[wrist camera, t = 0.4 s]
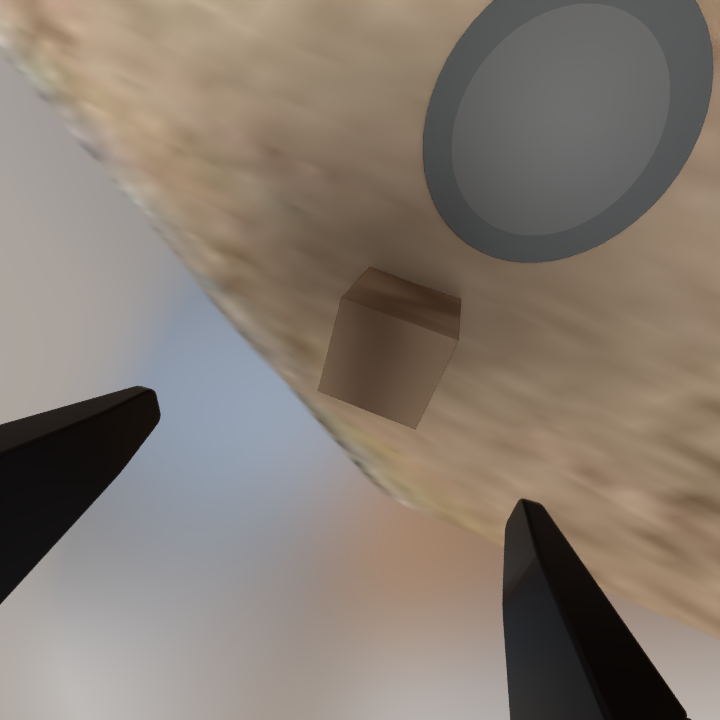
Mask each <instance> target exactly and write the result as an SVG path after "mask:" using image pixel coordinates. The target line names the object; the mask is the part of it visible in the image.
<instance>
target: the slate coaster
mask: <svg viewBox="0 0 720 720" xmlns="http://www.w3.org/2000/svg"><path fill="white" fill-rule="evenodd" d="M712 80H713V55H712V44H711V40H710V36H709V31H708V27H707V24H706V21H705V19H704V17H703V14H702V12H701V10H700V8H699V5H698V4H697V2H696V1H695V0H494V1H493V2H492V3H491V4H489V5H488V6H487V7H486V8H485V10H484V11H483V12H482V13H481V14H480V15H479V16H478V17H477V18H476V19H475V20H474V21H473V22H472V24H471V25H470V26H469V28H468V29H467V30H466V31H465V33H464V34H463V35H462V37H461V38H460V39H459V41H458V42H457V44H456V46H455V47H454V49H453V50H452V52H451V54H450V55H449V57H448V59H447V60H446V63H445V65H444V67H443V69H442V71H441V73H440V75H439V77H438V79H437V82H436V85H435V88H434V90H433V93H432V96H431V99H430V103H429V107H428V111H427V115H426V121H425V128H424V135H423V159H424V170H425V175H426V179H427V184H428V188H429V190H430V193H431V196H432V199H433V201H434V203H435V205H436V207H437V209H438V211H439V213H440V215H441V216H442V218H443V219H444V220H445V222H446V223H447V225H448V226H449V227H450V228H451V229H452V230H453V231H454V232H455V233H456V235H457V236H459V237H460V238H461V239H462V240H464V241H465V242H466V243H467V244H469V245H470V246H472V247H474V248H475V249H477V250H479V251H481V252H483V253H485V254H488V255H490V256H493V257H496V258H500V259H504V260H508V261H515V262H545V261H553V260H558V259H562V258H566V257H570V256H573V255H576V254H579V253H582V252H585V251H587V250H589V249H591V248H593V247H596V246H598V245H600V244H602V243H604V242H605V241H607V240H609V239H610V238H612V237H614V236H616V235H617V234H619V233H620V232H622V231H623V230H624V229H626V228H627V227H628V226H630V225H631V224H632V223H634V222H635V221H636V220H637V219H638V218H640V217H641V216H642V215H643V214H644V213H645V212H646V211H647V210H649V209H650V208H651V207H652V206H653V204H654V203H655V202H656V201H657V200H658V199H659V198H660V197H661V196H662V195H663V194H664V192H665V191H666V190H667V189H668V187H669V186H670V185H671V183H672V182H673V181H674V179H675V178H676V177H677V175H678V174H679V172H680V171H681V169H682V167H683V166H684V164H685V162H686V161H687V159H688V157H689V156H690V154H691V152H692V150H693V147H694V145H695V143H696V141H697V139H698V137H699V135H700V132H701V129H702V126H703V123H704V120H705V117H706V114H707V110H708V106H709V101H710V96H711V91H712Z"/></svg>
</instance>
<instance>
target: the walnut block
mask: <svg viewBox="0 0 720 720" xmlns="http://www.w3.org/2000/svg"><path fill="white" fill-rule="evenodd" d="M460 310H461V300H460V299H458V298H455V297H452V296H449V295H446V294H444V293H441V292H438V291H435V290H432V289H430V288H427V287H424V286H421V285H418V284H415V283H413V282H410V281H407V280H404V279H401V278H399V277H396V276H393V275H390V274H387V273H385V272H382V271H379V270H376V269H373V268H371V267H370V268H369V269H368V270H367V271H366V272H365V273H364V274H363V275H362V276H361V277H360V278H359V280H358V281H357V282H356V283H355V284H354V285H353V286H352V287H351V288H350V289H349V290H348V291H347V292H346V294H345V295H344V296H343V297H342V298H341V302H340V306H339V310H338V314H337V318H336V322H335V325H334V329H333V333H332V337H331V341H330V345H329V349H328V353H327V357H326V361H325V364H324V368H323V372H322V376H321V380H320V384H319V388H318V391H319V392H321V393H324V394H326V395H329V396H331V397H334V398H337V399H339V400H342V401H344V402H347V403H349V404H352V405H354V406H357V407H359V408H362V409H365V410H367V411H370V412H372V413H375V414H377V415H380V416H382V417H385V418H387V419H390V420H393V421H395V422H398V423H400V424H403V425H405V426H408V427H410V428H413V429H415V430H416V428H417V426H418V424H419V422H420V420H421V417H422V415H423V413H424V411H425V409H426V407H427V405H428V403H429V401H430V399H431V397H432V395H433V393H434V391H435V389H436V387H437V384H438V382H439V380H440V378H441V376H442V374H443V372H444V370H445V368H446V366H447V364H448V362H449V360H450V358H451V356H452V354H453V352H454V349H455V347H456V345H457V343H458V341H459V328H460Z"/></svg>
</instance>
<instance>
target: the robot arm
mask: <svg viewBox="0 0 720 720" xmlns="http://www.w3.org/2000/svg"><path fill="white" fill-rule="evenodd" d="M160 415H161V414H160V409H159V405H158V400H157V395H156V393H155V391H154V390H152V389H149V388H146V387H142V386H135V387H131V388H128V389H124V390H121V391H117V392H114V393H110V394H106V395H103V396H99V397H96V398H92V399H89V400H85V401H82V402H78V403H75V404H71V405H68V406H64V407H61V408H58V409H54V410H50V411H47V412H43V413H40V414H36V415H33V416H29V417H26V418H22V419H19V420H15V421H11V422H8V423H4V424H1V425H0V604H1V603H2V602H3V601H4V600H5V599H6V598H7V597H8V595H9V594H10V593H11V592H12V591H13V590H14V589H15V588H16V587H17V586H18V585H19V583H20V582H21V581H22V580H23V579H24V578H25V577H26V576H27V575H28V574H29V572H30V571H31V570H32V569H33V568H34V567H35V566H36V565H37V564H38V562H39V561H40V560H41V559H42V558H43V557H44V556H45V555H46V554H47V553H48V552H49V551H50V549H51V548H52V547H53V546H54V545H55V544H56V543H57V542H58V541H59V539H61V537H62V536H63V535H64V534H65V533H66V532H67V531H68V530H69V528H71V527H72V525H73V524H74V523H75V522H76V521H77V520H78V519H79V518H80V517H81V515H82V514H83V513H84V512H85V511H86V510H87V509H88V508H89V507H90V506H91V505H92V504H93V502H94V501H95V500H96V499H97V498H98V497H99V496H100V495H101V493H103V491H104V490H105V489H106V488H107V487H108V486H109V485H110V484H111V483H112V482H113V480H114V479H115V478H116V477H117V476H118V475H119V474H120V472H121V471H122V470H123V469H124V467H125V466H126V465H127V464H128V462H129V461H130V460H131V458H132V457H133V456H134V454H135V453H136V452H137V450H138V449H139V448H140V446H141V445H142V444H143V443H144V441H145V440H146V438H147V437H148V436H149V435H150V433H151V432H152V431H153V429H154V428H155V426H156V425H157V424H158V422H159V420H160ZM502 605H503V625H504V639H505V653H506V666H507V680H508V694H509V708H510V720H691V719H689V718H687V713H686V711H685V710H684V708H683V707H682V705H681V704H680V702H679V701H678V699H677V698H676V697H675V695H674V694H673V692H672V691H671V689H670V688H669V687H668V685H667V684H666V682H665V681H664V679H663V678H662V676H661V675H660V673H659V672H658V671H657V669H656V668H655V666H654V665H653V664H652V662H651V661H650V659H649V658H648V656H647V655H646V653H645V652H644V651H643V649H642V648H641V646H640V645H639V643H638V642H637V640H636V639H635V637H634V636H633V635H632V633H631V632H630V631H629V629H628V627H627V626H626V624H625V623H624V622H623V620H622V619H621V618H620V616H619V614H618V613H617V612H616V610H615V609H614V607H613V606H612V604H611V603H610V601H609V600H608V599H607V597H606V596H605V594H604V593H603V591H602V590H601V588H600V587H599V586H598V584H597V583H596V581H595V580H594V578H593V577H592V575H591V574H590V573H589V571H588V570H587V568H586V567H585V565H584V564H583V563H582V561H581V560H580V558H579V557H578V555H577V554H576V552H575V551H574V550H573V548H572V547H571V545H570V544H569V542H568V541H567V539H566V538H565V537H564V535H563V534H562V532H561V531H560V529H559V528H558V527H557V525H556V524H555V522H554V521H553V519H552V518H551V516H550V515H549V514H548V512H547V511H546V509H545V508H544V507H543V506H542V505H541V504H540V503H537V502H534V501H531V500H527V499H520V500H519V501H518V502H517V504H516V506H515V508H514V510H513V512H512V513H511V515H510V517H509V519H508V521H507V524H506V528H505V544H504V571H503V603H502Z"/></svg>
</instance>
